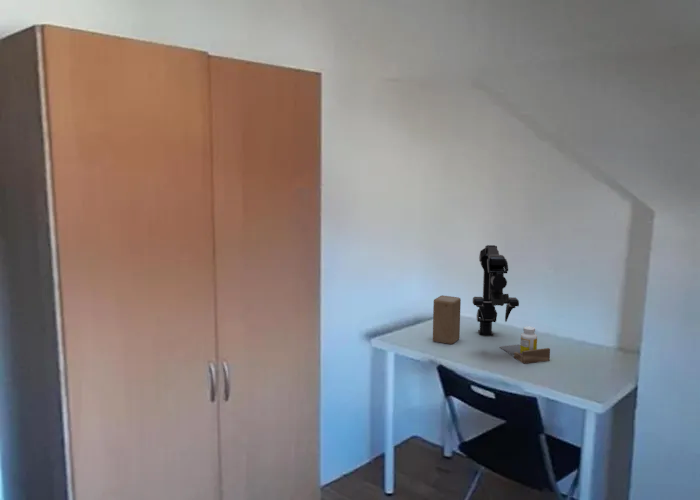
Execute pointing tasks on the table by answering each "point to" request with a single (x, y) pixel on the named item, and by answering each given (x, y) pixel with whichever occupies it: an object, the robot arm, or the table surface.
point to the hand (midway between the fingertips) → (494, 321)
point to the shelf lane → (533, 355)
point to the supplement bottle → (528, 339)
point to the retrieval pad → (511, 349)
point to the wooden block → (446, 319)
